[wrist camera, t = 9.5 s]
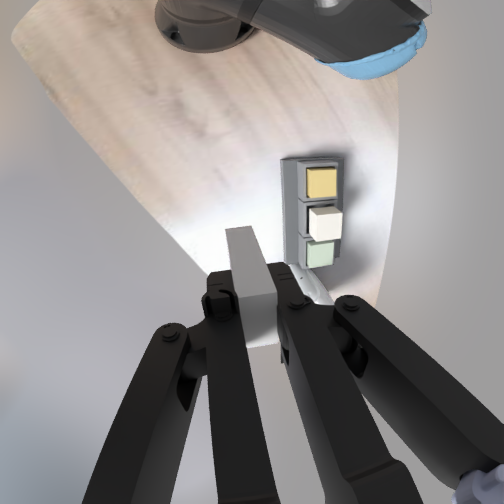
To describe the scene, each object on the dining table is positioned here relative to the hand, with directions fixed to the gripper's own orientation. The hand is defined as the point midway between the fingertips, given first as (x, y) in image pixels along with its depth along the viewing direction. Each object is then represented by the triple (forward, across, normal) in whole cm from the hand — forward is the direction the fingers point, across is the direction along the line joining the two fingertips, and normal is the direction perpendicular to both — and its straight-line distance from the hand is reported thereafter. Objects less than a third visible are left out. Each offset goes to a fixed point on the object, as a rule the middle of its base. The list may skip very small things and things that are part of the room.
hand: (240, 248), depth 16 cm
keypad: (+26, +14, -8) cm, 31 cm away
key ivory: (+22, +14, -8) cm, 27 cm away
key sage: (+24, +14, -14) cm, 31 cm away
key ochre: (+24, +14, -2) cm, 28 cm away
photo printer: (+27, +13, -22) cm, 37 cm away
